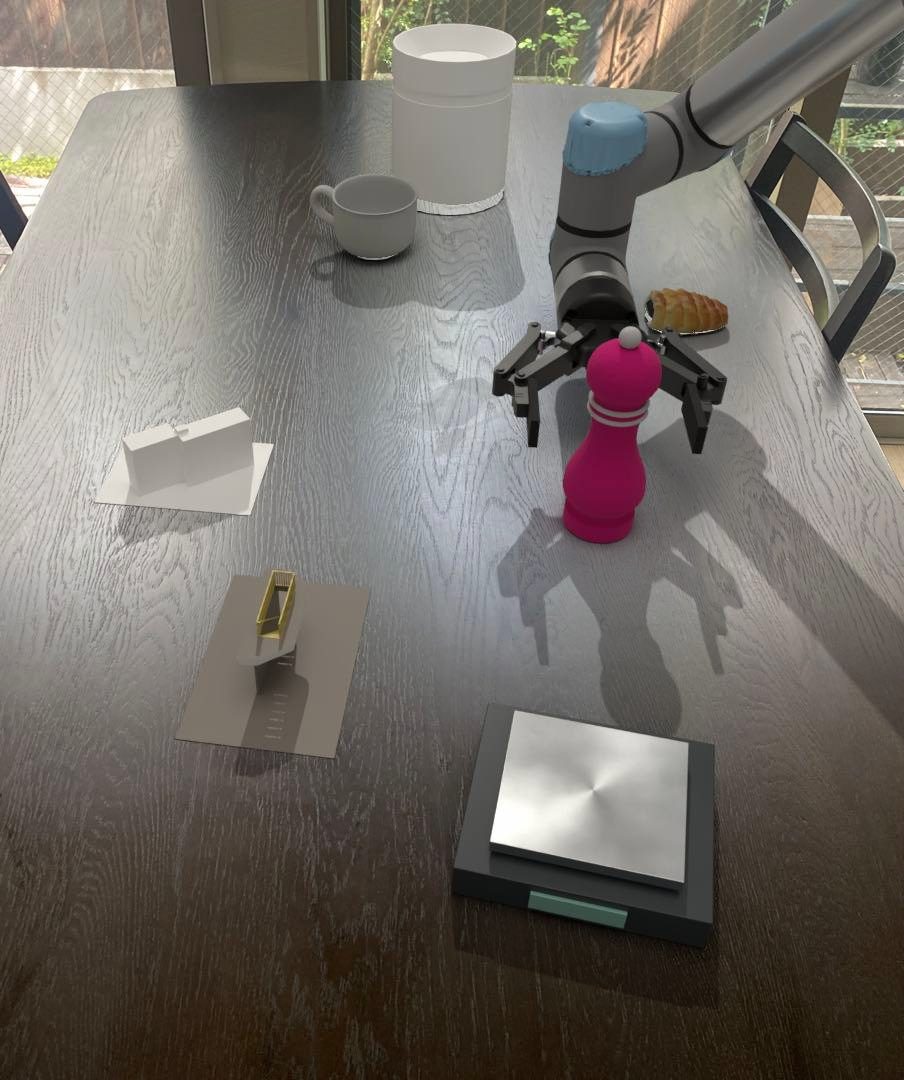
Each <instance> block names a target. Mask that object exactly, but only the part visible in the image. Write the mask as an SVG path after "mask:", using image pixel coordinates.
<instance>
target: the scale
mask: <svg viewBox="0 0 904 1080" xmlns="http://www.w3.org/2000/svg"><path fill="white" fill-rule="evenodd" d="M515 710H516V711H521V712H526V713H532V714H537V715H542V716H548V717H553V718H558V719H564V720H569V721H574V722H580V723H585V724H590V725H596V726H601V727H606V728H612V729H617V730H622V731H628V732H633V733H638V734H644V735H649V736H654V737H660V738H665V739H671V740H676V741H681V742H687V743H689V756H688V786H687V817H686V848H685V879H684V885H683V888H682V891H678V890H674V889H669V888H664V887H659V886H655V885H650V884H645V883H641V882H636V881H631V880H627V879H622V878H617V877H612V876H608V875H603V874H598V873H594V872H589V871H584V870H579V869H575V868H570V867H565V866H561V865H556V864H551V863H547V862H542V861H537V860H532V859H528V858H523V857H518V856H514V855H509V854H504V853H499V852H495V851H490V850H489V842H490V837H491V831H492V826H493V821H494V815H495V810H496V805H497V800H498V794H499V789H500V784H501V778H502V773H503V768H504V763H505V757H506V752H507V747H508V741H509V736H510V731H511V726H512V720H513V715H514V711H515ZM715 758H716V745H715V744H714V743H709V742H704V741H697V740H693V739H687V738H682V737H676V736H671V735H665V734H661V733H657V732H651V731H645V730H641V729H640V730H638V729H634V728H628V727H623V726H619V725H618V726H617V725H614V724H613V725H612V724H606V723H601V722H596V721H590V720H585V719H580V718H575V717H570V716H566V715H565V716H564V715H559V714H554V713H548V712H544V711H543V712H542V711H537V710H532V709H527V708H521V707H517V706H516V707H515V706H510V705H505V704H499V703H495V702H488V703H487V705H486V711H485V716H484V720H483V725H482V729H481V735H480V739H479V744H478V748H477V754H476V759H475V762H474V768H473V772H472V777H471V781H470V786H469V790H468V795H467V800H466V804H465V810H464V813H463V819H462V824H461V828H460V833H459V837H458V841H457V842H458V843H457V847H456V852H455V855H454V860H453V865H452V872H451V873H452V874H451V885H450V886H451V887H450V892H451V893H452V894H456V895H460V896H464V897H470V898H474V899H477V900H478V899H479V900H484V901H488V902H492V903H498V904H501V905H506V906H511V907H515V908H520V909H524V910H529V911H532V912H538V913H542V914H547V915H551V916H555V917H561V918H563V919H569V920H574V921H578V922H581V923H582V922H583V923H587V924H591V925H597V926H601V927H605V928H610V929H614V930H619V931H623V932H627V933H632V934H637V935H642V936H647V937H649V938H650V937H651V938H655V939H660V940H663V941H664V940H665V941H669V942H672V943H678V944H683V945H687V946H691V947H695V948H700V949H704V947H705V945H706V942H707V939H708V937H709V936H710V932H711V929H712V927H713V925H714V876H715V875H714V871H715V869H714V864H715V863H714V862H715V859H714V858H715V846H714V845H715V775H716V774H715V770H716V769H715V768H716V767H715V765H716V763H715V762H716V761H715V760H716V759H715Z"/></svg>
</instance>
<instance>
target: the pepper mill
mask: <svg viewBox="0 0 904 1080" xmlns="http://www.w3.org/2000/svg"><path fill="white" fill-rule="evenodd" d="M641 339H642V335H641V332H640V331H639V330H638V329H637V328H636V327H632V326H629V327H626V328H624V329H623V330H622V331H621V332H620V334H619V338H618V339H613V340H610V341H608V342H605V343H603V344H602V345H600V346H599V347H598V348H597V349H596V350H595V351H594V352H593V354H592V355H591V357H590V359H589V362H588V365H587V370H585V371H586V372H585V373H586V374H585V378H586V382H587V386H588V388H589V389H590V391H589V393H588V401H587V403H586V409H587V412H588V414H589V415H590V416H591V417H590V418H591V419H590V425H589V429H588V431H587V433H586V435H585V438H584V439H583V440H582V442H581V443H580V445H579V446H578V447H577V449H576V450H575V451H574V453H573V454H572V455H571V457H570V459H569V461H568V462H567V464H566V467H565V469H564V473H563V477H562V490H563V493H564V495H565V497H566V498H565V500H564V505H563V511H562V521H563V523H564V525H565V527H566V528H567V529H568V531H569V532H570V533H571V534H572V535H574V536H576V537H577V538H578V539H582V540H584V541H587V542H590V543H596V544H608V543H614V542H618V541H620V540H622V539H624V538H625V537H627V536H628V535H629V533H630V532H631V531H632V528H633V524H634V519H635V514H636V508H637V507H638V506H639V505H640V504H641V503H642V501H643V500H644V498H645V495H646V488H647V487H646V486H647V475H646V469H645V465H644V462H643V459H642V457H641V454H640V451H639V447H638V439H637V438H638V432H639V427H640V425H641V423H643V422H644V421H645V420H646V419H647V417H648V415H649V408H650V405H651V400H650V399H651V398H652V397H653V396H654V395H655V393H656V392H657V391H658V389H660V388H659V385H660V382H661V377H662V367H661V362H660V359H659V357H658V355H657V354H656V352H655V351H654V350H653V349H652V348H651V347H650V346H648V345H647V344H645V343H643V342H641Z"/></svg>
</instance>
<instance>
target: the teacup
mask: <svg viewBox="0 0 904 1080" xmlns="http://www.w3.org/2000/svg"><path fill="white" fill-rule="evenodd" d="M320 195H324V196H326V197H327V198H328V199H329V201H330V203H331V207H332V214H330V213H329V212H328V211H327V210H325V208H324V207H323V206H322V205H321V203H320V201H319V196H320ZM417 199H418V191H417V189H416V187H415V186H414V185H413V184H412V183H410V182H409V181H407V180H405V179H403V178H400V177H397V176H393V175H391V174H387V173H365V174H359V175H355V176H351V177H348V178H346V179H343V180H342V181H341V182H339V183H337V185H335V186H334V188H333V187H332V186H330V185H327V184H320V185H318V186H316V187H314V188H313V190H312V191H311V193H310V196H309V204H310V207H311V209H312V211H313V213H314V215H316V216H317V217H318V218H319V219H320V220H321V221H323V222H324V223H326V224H327V225H329V226H330V228H331V230H332V231H333V232H334V235H335V238H336V241H337V243H338V244H339V245H340V247H341V248H342V249H343V250H344V251H346V252H348V253H349V254H351V255H352V254H353V255H356V256H360V257H366V258H382V257H388V256H392V255H395V254H397V253H399V252H400V253H401V252H403V251H405V250H406V249H407V248H408V247H409V246H410V245H411V243H412V241H413V239H414V237H415V234H416V229H417V214H418V213H417ZM400 253H399V254H400ZM353 255H352V256H353ZM397 255H398V254H397Z"/></svg>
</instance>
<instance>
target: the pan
mask: <svg viewBox="0 0 904 1080" xmlns="http://www.w3.org/2000/svg"><path fill="white" fill-rule="evenodd" d="M688 756H689V743H687V742H681V741H676V740H671V739H665V738H660V737H654V736H649V735H644V734H638V733H633V732H628V731H622V730H617V729H612V728H606V727H601V726H596V725H590V724H585V723H580V722H574V721H569V720H564V719H558V718H553V717H548V716H542V715H537V714H532V713H526V712H521V711H516V710H515V711H514V715H513V720H512V726H511V731H510V736H509V741H508V747H507V752H506V757H505V763H504V768H503V773H502V778H501V784H500V789H499V794H498V800H497V805H496V810H495V815H494V821H493V826H492V831H491V837H490V842H489V850H490V851H495V852H499V853H504V854H509V855H514V856H518V857H523V858H528V859H532V860H537V861H542V862H547V863H551V864H556V865H561V866H565V867H570V868H575V869H579V870H584V871H589V872H594V873H598V874H603V875H608V876H612V877H617V878H622V879H627V880H631V881H636V882H641V883H645V884H650V885H655V886H659V887H664V888H669V889H674V890H678V891H682V888H683V885H684V879H685V848H686V817H687V786H688Z"/></svg>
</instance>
